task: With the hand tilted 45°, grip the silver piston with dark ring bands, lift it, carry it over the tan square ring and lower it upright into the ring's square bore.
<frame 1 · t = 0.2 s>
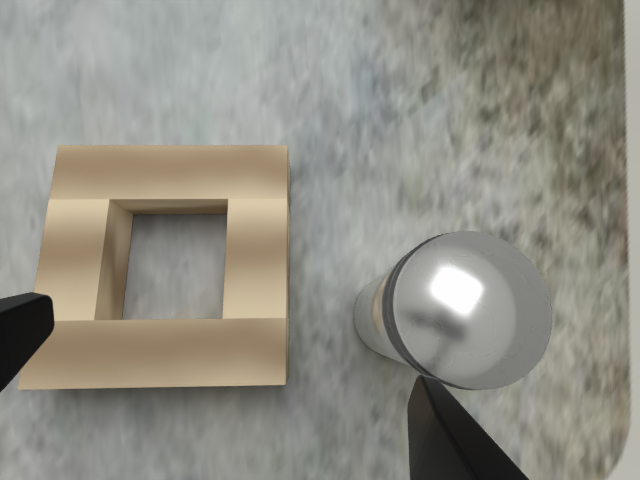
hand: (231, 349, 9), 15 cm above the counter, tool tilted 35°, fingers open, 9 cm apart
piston: (392, 315, 23), on the counter
tan square ring: (182, 265, 24), on the counter
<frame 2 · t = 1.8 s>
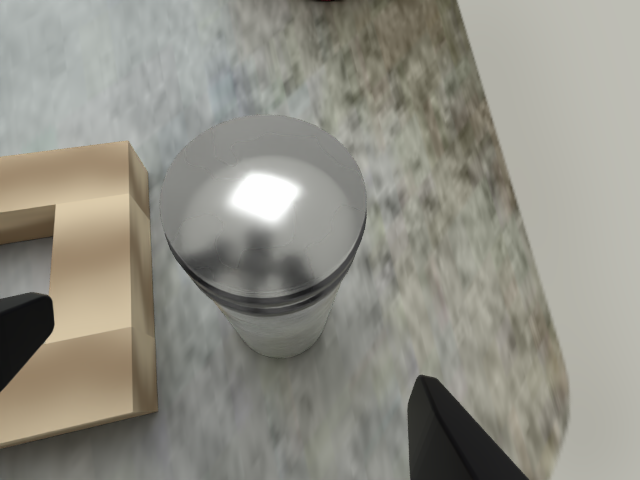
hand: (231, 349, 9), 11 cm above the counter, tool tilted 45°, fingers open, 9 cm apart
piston: (281, 310, 20), on the counter
tan square ring: (13, 300, 19), on the counter
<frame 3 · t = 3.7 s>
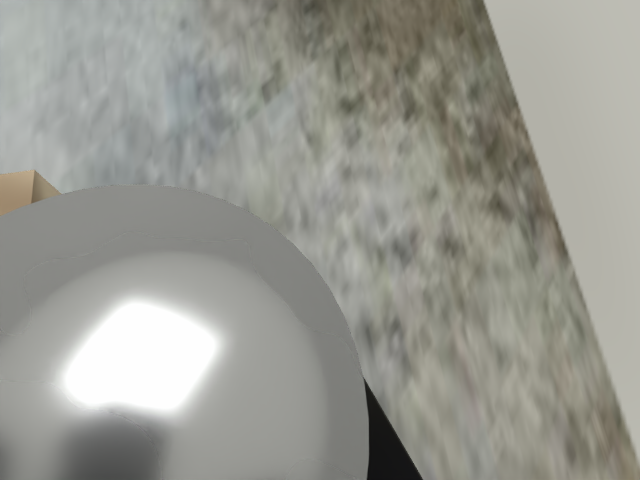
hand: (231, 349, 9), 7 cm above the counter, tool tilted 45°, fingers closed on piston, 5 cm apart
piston: (247, 408, 14), on the counter, touching gripper
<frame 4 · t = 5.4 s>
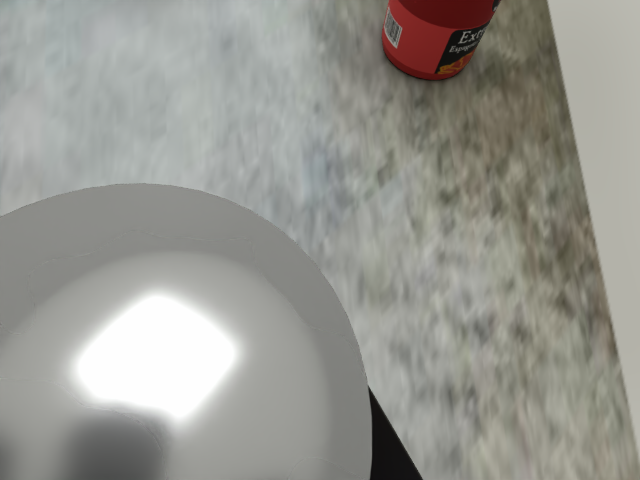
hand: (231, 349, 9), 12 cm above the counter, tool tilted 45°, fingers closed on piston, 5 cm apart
canned food: (423, 51, 32), on the counter
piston: (248, 408, 14), point 6 cm above the counter, touching gripper
when the fingers open (8 cm above the counter, at t = 7.6 s): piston drops 1 cm, resting in tan square ring.
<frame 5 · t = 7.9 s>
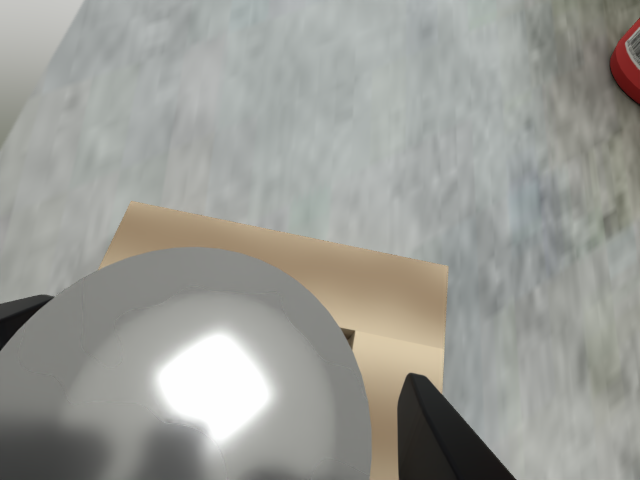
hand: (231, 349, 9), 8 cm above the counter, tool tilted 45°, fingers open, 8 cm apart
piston: (252, 410, 15), resting in tan square ring
tan square ring: (251, 407, 15), on the counter
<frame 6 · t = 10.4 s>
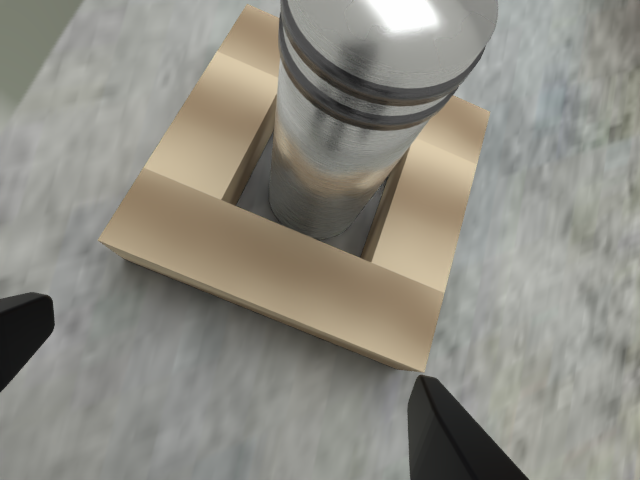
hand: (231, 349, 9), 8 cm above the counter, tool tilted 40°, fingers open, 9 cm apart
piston: (315, 195, 20), resting in tan square ring
tan square ring: (314, 192, 20), on the counter
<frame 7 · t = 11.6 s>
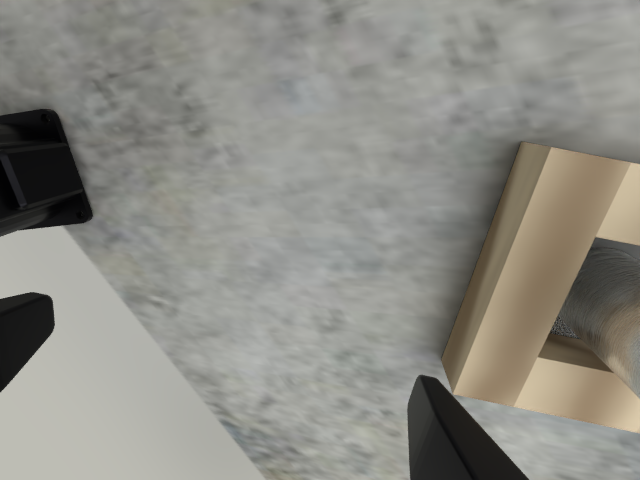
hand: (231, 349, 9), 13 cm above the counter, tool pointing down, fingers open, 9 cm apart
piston: (593, 288, 21), resting in tan square ring
tan square ring: (596, 287, 21), on the counter
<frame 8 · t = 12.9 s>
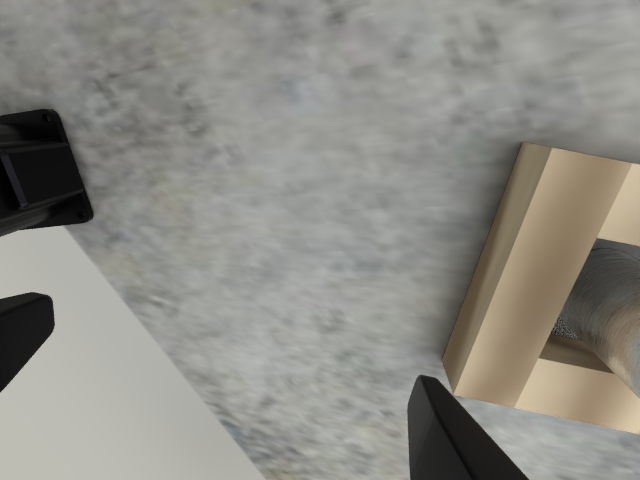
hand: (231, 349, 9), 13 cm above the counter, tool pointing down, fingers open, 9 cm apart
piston: (595, 289, 21), resting in tan square ring
tan square ring: (597, 288, 21), on the counter
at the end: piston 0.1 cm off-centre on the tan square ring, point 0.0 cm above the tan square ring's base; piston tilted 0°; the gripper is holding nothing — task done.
